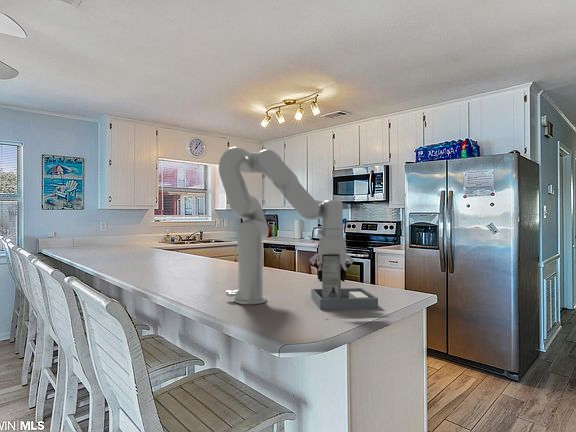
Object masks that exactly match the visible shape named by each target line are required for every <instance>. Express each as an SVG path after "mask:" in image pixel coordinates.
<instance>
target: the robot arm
mask: <svg viewBox="0 0 576 432" xmlns="http://www.w3.org/2000/svg"><path fill="white" fill-rule="evenodd" d="M218 173H219V176H220V177H219V178H220V180H221V183H222V186H223V189H224V192H225V195H226V199H227V201H228V204H229V207H230V211H231V213H232V214H233V215H234V216H235V217H236V218H239V219H241V220H242V222H241V223H240V224H239V226H238V227H237V230H236V242H237V250H238V251H237V257H238V265H237V267H238V268H237V269H238V270H237V271H238V272H237V276H238V277H237V278H238V279H237V280H238V281H237V285H238V286H237V289H235V290H226V297H233V300H234V301H233V302H234V303H236V304H238V303H239V304H240V305H260V304H264V303H266V302H267V300H268V299H267V296H265V295H263V294H264V288H263V287H264V253H263V252H264V251H263V249H264V248H263V242H264V241H265V240H266V239H267V238H268V235H269V232H270V230H269V224H268V222H267V219H266V217H265V214H264V210H263V208H262V205H261V203H260V201H259V200H258V199H257V197H255V196H253V194H252V195H251V194H250V192H249V191H248V187H247V185H246V182H245V179H244V177H243V176H242V173H250V174H251V173H253V174H264V175H265V176H266V177H267V178H268V180H270V182H271V183H272V184H273V185H274V186H275V187H276V188H277V190H278V191H279V192H280V194H281V195H282V196H283V197H284V198H285V199H286V200H287V201H288V203H289V204H290V205H291V206H292V208H293V209H294V210H295V211H296V212H297V213H298V214H299V215H300V216H301V217H302V218H304V219H305V220H309V221H310V220H312V221H313V220H320V219H321V229H318V231H317V232H318V233H317V234H318V235H321V236H320V237H319V240H318V242H319V243H318V250H317V251H318V252H317V253H316V254H314V255H313V256H312V257H311V258H309V262H310V263H311V264H312V265H313V267H314V268H315V269H316V270H317V280H319V282H321V283H322V257H323V255H327V254H335V255H340V265H341V282H345V280H346V279H347V271H348V269H349V268H350V267H351V265H352V264H353V263H354V261H355V259H354V258H353V257H351V256H350V255H349V254H348V252H347V243H346V237H343V226H344V225H343V222H344V221H343V213H344V211H343V209H344V207H343V202H342V201H341V200H339V199H338V200H337V199H326V200H316V199H315V198H313V196H312V195H311V194H310V193H309V192H308V191H307V190H306V189H305V187H303V185H302V184H301V183H300V181H299V178H298V176H297V175H296V174H295V172H293V171H292V169H290V167H289V166H288V165H287V164H286V163H285V162H284V161H283V160H282V158H281V156H280V155H279V154H278V153H276V152H275V151H274V150H271V149H268V148H264V149H262V150H260V151H259V152H253V151H252V152H250V151H248V150H246V149H244V148H242V147H239V146H233V147H229V148H228V149H226V150H225V151H224V152H223V153H222V155H221V157H220V159H219V163H218ZM316 260H317V261H318V264H317V262H316ZM347 260H348V261H347ZM239 304H238V305H239Z"/></svg>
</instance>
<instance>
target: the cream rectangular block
mask: <svg viewBox="0 0 576 432" xmlns="http://www.w3.org/2000/svg"><path fill="white" fill-rule="evenodd" d="M349 298H369V297H368V296H366V295H365V294H363V293H362V292H349Z"/></svg>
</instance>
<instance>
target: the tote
mask: <svg viewBox="0 0 576 432" xmlns="http://www.w3.org/2000/svg"><path fill="white" fill-rule="evenodd" d="M349 292H362V293H363V294H365V295H366V296H368V297H369V298H349ZM310 296H311V297H310V298H311V300H312V301H313V302H314V304H315V305H316V306H317V308H318V309H319V310H322V311H323V310H324V311H327V310H328V311H329V310H330V311H333V310H339V311H340V310H366V309H367V310H368V309H369V310H371V309H372V310H373V309H374V310H375V309H379V298H378V297H377V296H375V294H372V293H370V292H369V291H367V290H366V289H364V288H362V287H352V288H351V287H350V288H349V287H348V288H347V287H345V288H344V287H343V288H342V287H341V295H340V298H339V299H322V288H311V290H310Z"/></svg>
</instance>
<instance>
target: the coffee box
mask: <svg viewBox="0 0 576 432" xmlns="http://www.w3.org/2000/svg"><path fill="white" fill-rule="evenodd" d="M341 270H342V267H341V265H340V255H335V254H327V255H323V257H322V282H321V286H322V287H321V289H322V299H339V298H340V295H341V288H342V284H341V283H342V281H341Z"/></svg>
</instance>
